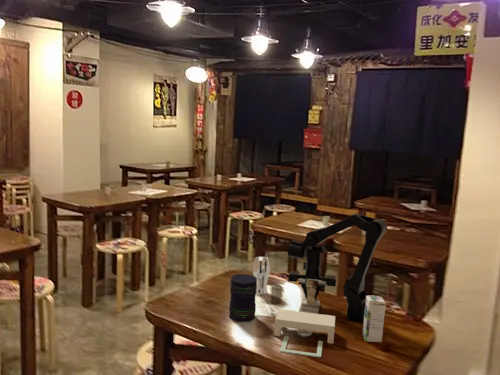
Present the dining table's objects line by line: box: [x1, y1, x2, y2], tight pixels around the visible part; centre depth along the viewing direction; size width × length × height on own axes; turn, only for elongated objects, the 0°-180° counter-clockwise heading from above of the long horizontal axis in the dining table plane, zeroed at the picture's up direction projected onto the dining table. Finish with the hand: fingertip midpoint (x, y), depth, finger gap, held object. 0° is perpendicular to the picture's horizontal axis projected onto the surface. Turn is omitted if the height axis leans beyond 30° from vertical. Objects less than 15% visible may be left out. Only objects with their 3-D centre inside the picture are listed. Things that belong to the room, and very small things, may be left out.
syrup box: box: [362, 295, 387, 343], centre depth 164 cm, size 6×6×14 cm
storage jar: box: [228, 273, 257, 323], centre depth 177 cm, size 10×10×15 cm
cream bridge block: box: [273, 308, 336, 344], centre depth 166 cm, size 20×9×6 cm, turn 79°
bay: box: [279, 335, 324, 359], centre depth 156 cm, size 13×11×1 cm
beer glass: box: [252, 256, 271, 296], centre depth 203 cm, size 7×7×15 cm
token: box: [296, 329, 313, 338], centre depth 166 cm, size 5×5×2 cm
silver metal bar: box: [298, 284, 321, 314], centre depth 182 cm, size 24×7×8 cm, turn 168°
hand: (310, 299), depth 191 cm, fingers closed on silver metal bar, 3 cm apart
